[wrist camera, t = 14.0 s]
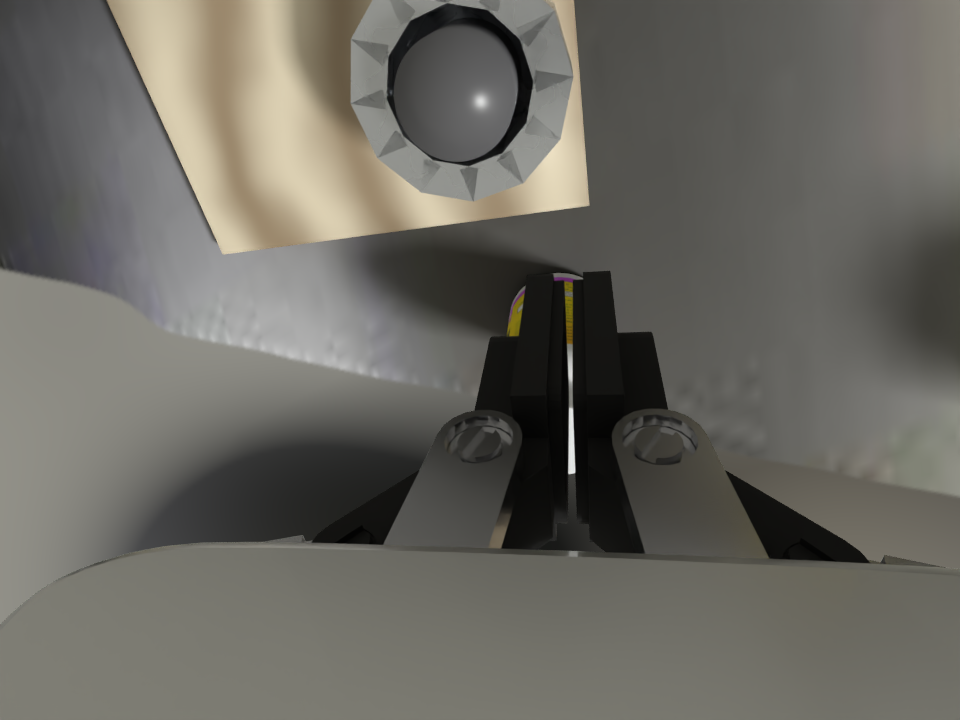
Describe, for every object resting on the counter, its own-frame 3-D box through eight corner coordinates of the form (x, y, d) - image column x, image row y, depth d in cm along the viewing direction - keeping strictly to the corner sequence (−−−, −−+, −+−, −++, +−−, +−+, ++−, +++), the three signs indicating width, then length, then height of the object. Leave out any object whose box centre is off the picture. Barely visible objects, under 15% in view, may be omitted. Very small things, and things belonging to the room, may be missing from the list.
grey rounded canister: (460, -8, 27) (439, -2, 22) (542, 67, 29) (540, 89, 24) (401, 84, 30) (371, 109, 25) (479, 149, 31) (465, 185, 26)
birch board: (562, -148, 26) (562, -153, 25) (588, 198, 34) (589, 205, 33) (106, -34, 30) (91, -34, 29) (231, 247, 39) (222, 254, 38)
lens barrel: (451, -97, 26) (431, -108, 22) (609, 56, 29) (617, 71, 25) (344, 89, 31) (312, 108, 27) (487, 204, 34) (478, 237, 30)
